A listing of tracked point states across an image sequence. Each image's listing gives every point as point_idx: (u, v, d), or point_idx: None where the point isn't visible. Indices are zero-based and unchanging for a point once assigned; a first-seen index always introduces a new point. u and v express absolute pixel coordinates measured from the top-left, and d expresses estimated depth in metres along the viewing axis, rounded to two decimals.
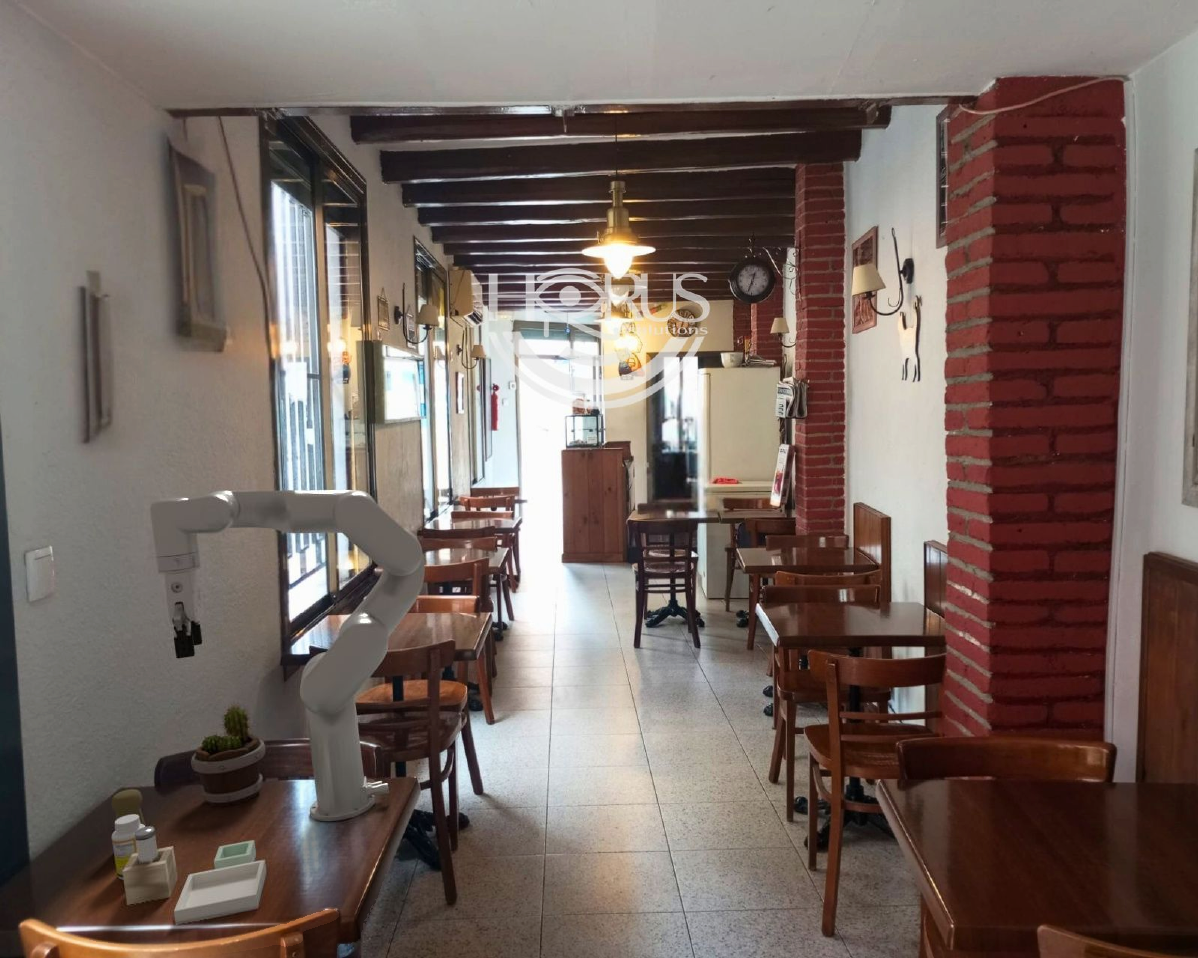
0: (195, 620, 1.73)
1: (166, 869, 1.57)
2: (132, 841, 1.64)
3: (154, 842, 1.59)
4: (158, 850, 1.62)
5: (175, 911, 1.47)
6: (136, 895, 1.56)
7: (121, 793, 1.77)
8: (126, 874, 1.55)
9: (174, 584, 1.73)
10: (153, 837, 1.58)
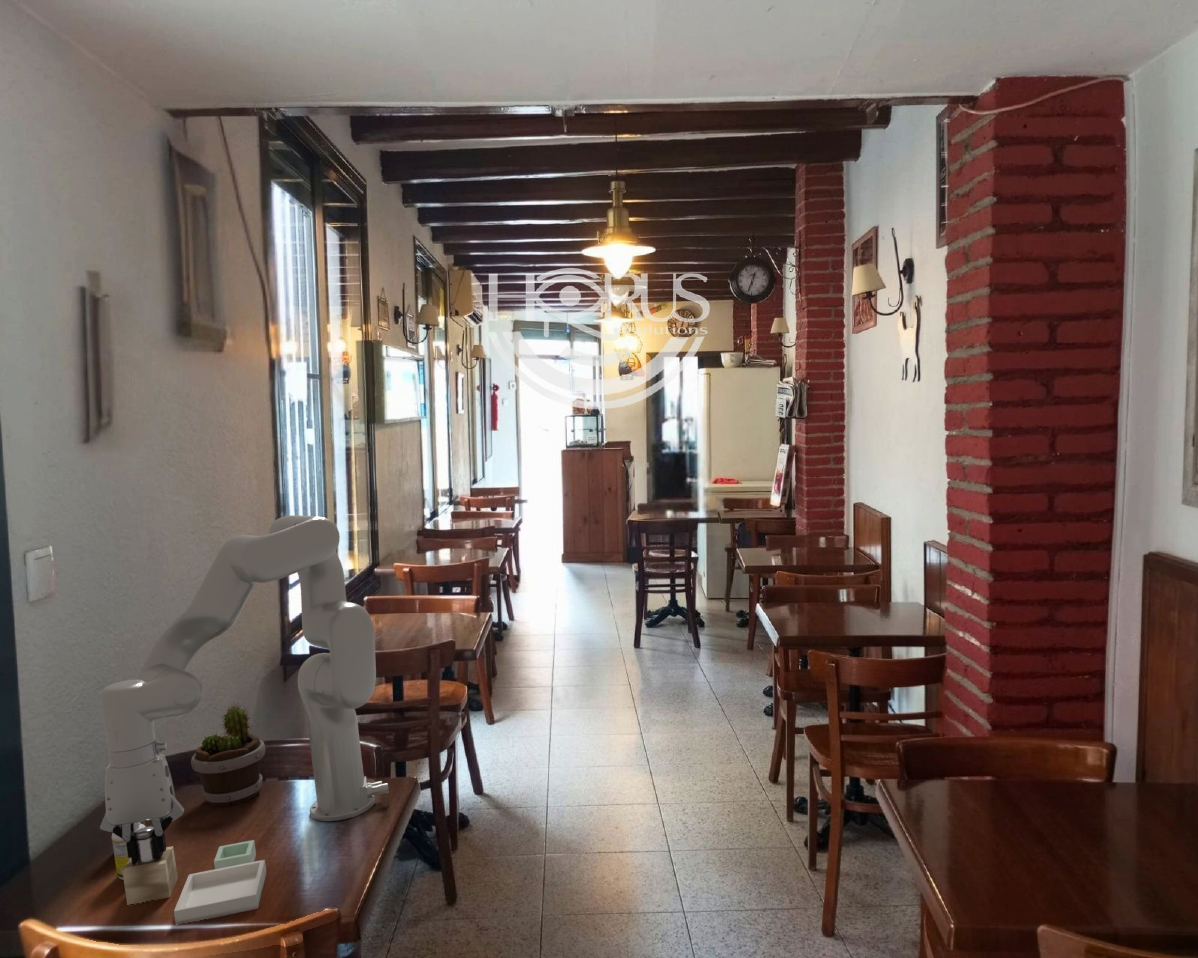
0: None
1: (166, 869, 1.57)
2: None
3: None
4: None
5: (175, 911, 1.47)
6: (136, 895, 1.56)
7: None
8: (126, 874, 1.55)
9: None
10: None
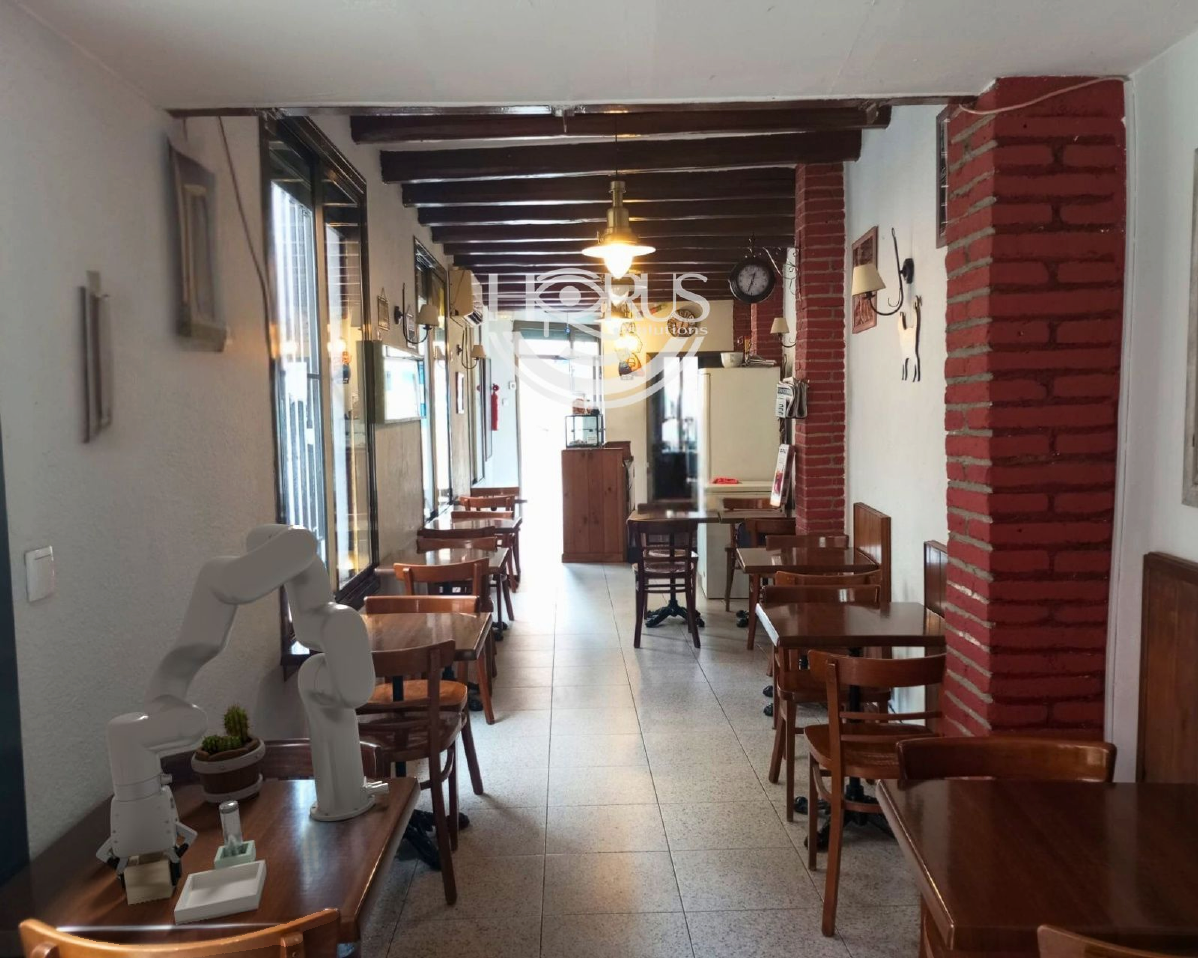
0: None
1: (167, 869, 1.57)
2: None
3: (237, 815, 1.65)
4: None
5: (175, 911, 1.47)
6: (137, 895, 1.56)
7: None
8: (127, 874, 1.55)
9: None
10: (236, 810, 1.65)
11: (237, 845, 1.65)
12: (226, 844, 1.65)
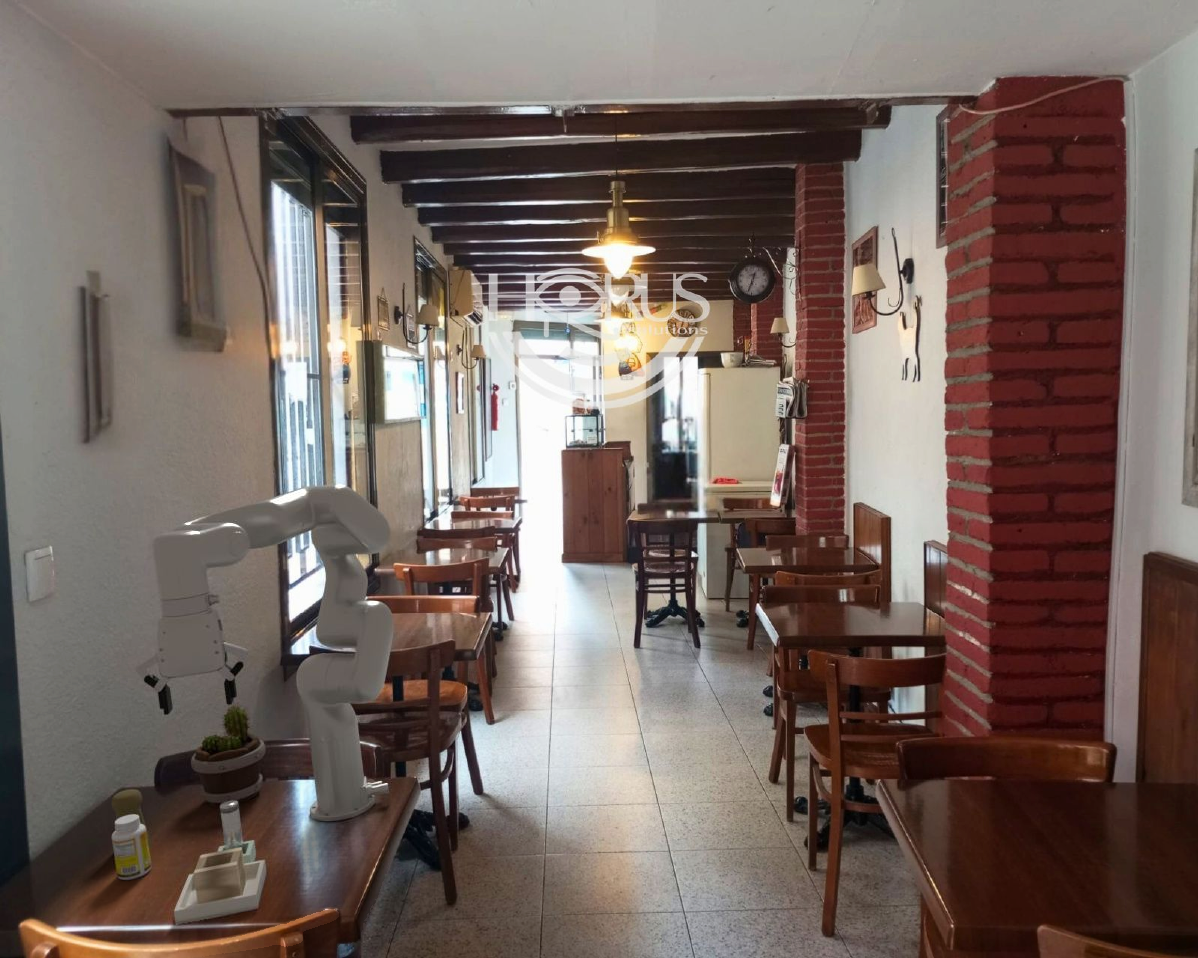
0: None
1: (237, 871, 1.53)
2: (132, 841, 1.64)
3: (238, 815, 1.65)
4: (227, 851, 1.57)
5: (175, 911, 1.47)
6: (208, 898, 1.51)
7: (121, 793, 1.77)
8: (197, 876, 1.51)
9: None
10: (237, 810, 1.65)
11: (237, 845, 1.65)
12: (226, 844, 1.65)
